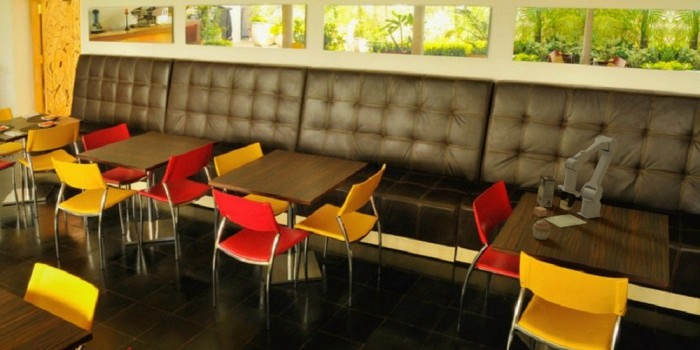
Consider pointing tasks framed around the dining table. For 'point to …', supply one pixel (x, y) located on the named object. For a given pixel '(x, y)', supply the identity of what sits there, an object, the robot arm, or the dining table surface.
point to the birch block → (565, 205)
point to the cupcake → (541, 230)
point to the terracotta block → (540, 211)
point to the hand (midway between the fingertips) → (566, 205)
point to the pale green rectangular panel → (565, 220)
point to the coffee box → (546, 191)
